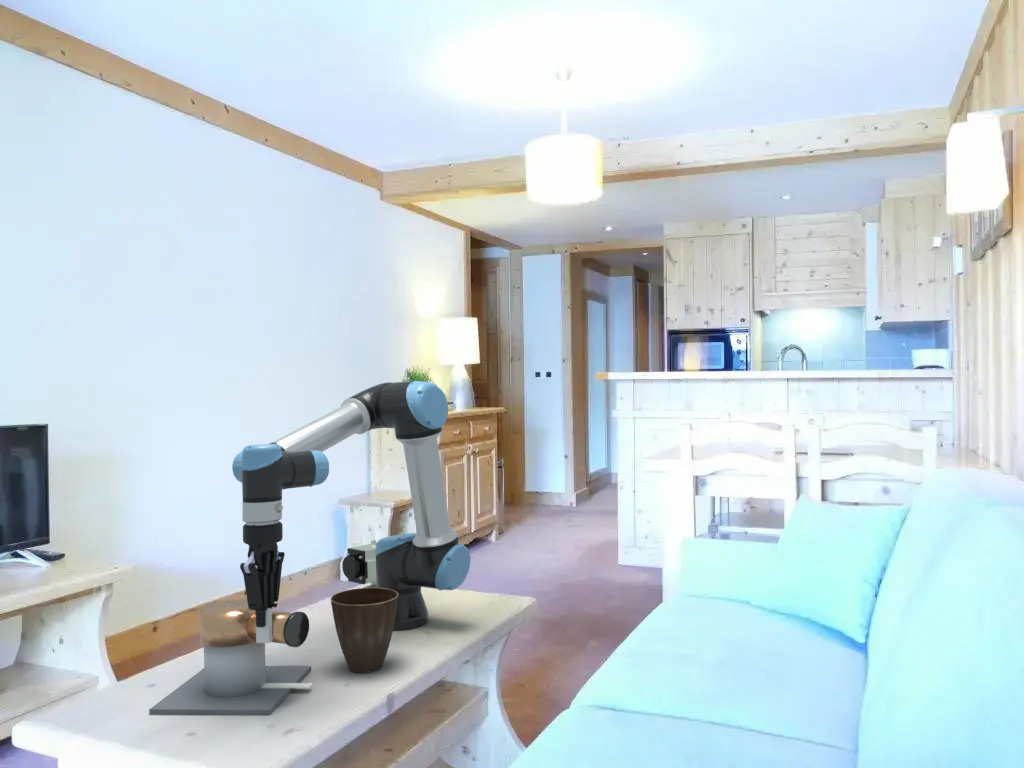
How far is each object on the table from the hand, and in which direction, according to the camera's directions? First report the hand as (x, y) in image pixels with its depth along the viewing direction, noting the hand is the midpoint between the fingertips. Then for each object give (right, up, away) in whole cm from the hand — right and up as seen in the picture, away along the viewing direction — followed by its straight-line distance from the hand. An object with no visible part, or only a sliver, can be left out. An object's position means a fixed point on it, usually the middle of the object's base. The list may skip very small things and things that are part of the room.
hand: (264, 641), depth 155 cm
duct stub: (-7, -13, +8) cm, 17 cm away
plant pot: (+16, -13, +20) cm, 29 cm away
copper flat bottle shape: (-4, -2, +6) cm, 8 cm away
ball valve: (+9, -13, +77) cm, 79 cm away
